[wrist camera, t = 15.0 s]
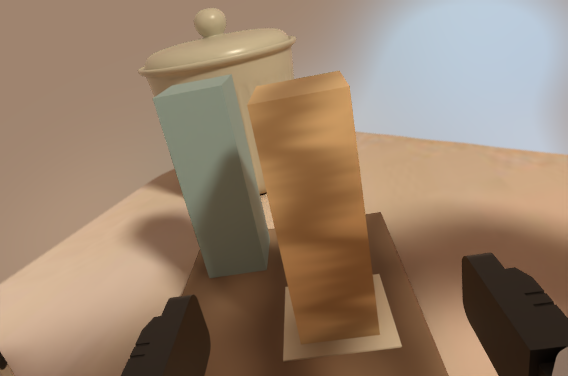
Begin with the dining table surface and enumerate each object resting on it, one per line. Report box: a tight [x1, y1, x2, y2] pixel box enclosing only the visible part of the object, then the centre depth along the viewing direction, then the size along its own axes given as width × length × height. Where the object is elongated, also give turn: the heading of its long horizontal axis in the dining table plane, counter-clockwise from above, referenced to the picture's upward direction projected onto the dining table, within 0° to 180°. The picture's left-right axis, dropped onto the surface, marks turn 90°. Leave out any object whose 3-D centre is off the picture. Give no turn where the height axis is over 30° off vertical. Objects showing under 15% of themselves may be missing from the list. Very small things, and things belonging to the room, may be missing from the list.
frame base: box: [153, 74, 449, 376], centre depth 26 cm, size 16×18×16 cm
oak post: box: [247, 71, 380, 344], centre depth 23 cm, size 4×4×14 cm
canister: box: [138, 8, 296, 194], centre depth 50 cm, size 18×18×21 cm
